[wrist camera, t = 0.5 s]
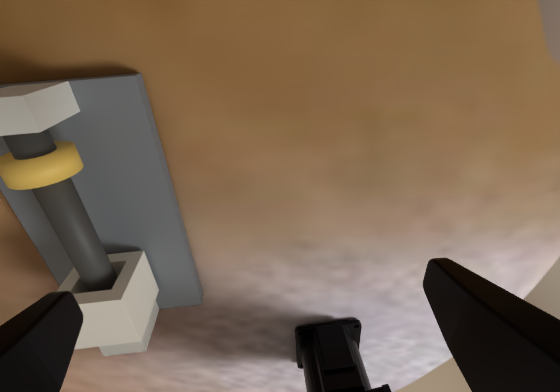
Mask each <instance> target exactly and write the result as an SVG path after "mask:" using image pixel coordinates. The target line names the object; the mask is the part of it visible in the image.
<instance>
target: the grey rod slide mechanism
mask: <svg viewBox="0 0 560 392" xmlns="http://www.w3.org/2000/svg"><path fill="white" fill-rule="evenodd" d="M0 190H1V191H2V193H3V195H4V196H5V198H6V199H7V201H8V203H9V204H10V206H11V208H12V209H13V211H14V212H15V214H16V216H17V217H18V219H19V221H20V222H21V224H22V226H23V227H24V229H25V230H26V232H27V234H28V235H29V237H30V239H31V240H32V242H33V243H34V245H35V247H36V248H37V250H38V252H39V253H40V255H41V256H42V258H43V260H44V261H45V263H46V265H47V266H48V268H49V269H50V271H51V273H52V274H53V276H54V278H55V279H56V281H57V283H58V284H59V286H61V284H62V283H63V282H64V280H65V279H66V277H67V276H68V275H69V273H70V272H71V270H72V269H73V268H74V267H75V269H76V271H77V273H78V274H79V276H80V278H81V280H82V282H83V283H84V285H85V287H86V289H87V291H88V292H94V291H103V290H112V288H113V286H114V284H115V282H116V280H117V278H118V277H117V275H116V273H115V271H114V269H113V267H112V265H111V262H110V260H109V258H108V256H107V254H116V253H126V252H135V251H144V252H145V255H146V257H147V260H148V263H149V265H150V268H151V271H152V273H153V276H154V278H155V281H156V284H157V286H158V289H159V291H158V294H157V297H156V300H155V303H154V306H153V309H152V312H151V315H150V318H149V321H148V324H147V326H146V329H145V332H144V335H143V338H142V341H141V342H133V343H124V344H116V345H108V346H99V349H100V351H101V352H102V354H103V355H104V356H111V355H120V354H128V353H136V352H144V351H146V350H147V347H148V344H149V341H150V338H151V334H152V331H153V328H154V325H155V322H156V319H157V315H158V312H159V309H166V308H175V307H183V306H192V305H201V304H202V300H203V292H202V288H201V285H200V281H199V278H198V274H197V271H196V267H195V263H194V260H193V256H192V253H191V249H190V246H189V242H188V238H187V235H186V231H185V228H184V224H183V221H182V217H181V214H180V210H179V206H178V203H177V199H176V196H175V192H174V189H173V185H172V181H171V178H170V174H169V171H168V167H167V164H166V160H165V156H164V153H163V149H162V146H161V142H160V139H159V135H158V131H157V128H156V124H155V121H154V117H153V114H152V110H151V106H150V103H149V99H148V96H147V92H146V89H145V85H144V81H143V78H142V74H141V73H134V74H122V75H110V76H98V77H85V78H73V79H61V80H49V81H37V82H25V83H12V84H0Z"/></svg>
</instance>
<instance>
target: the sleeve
mask: <svg viewBox="0 0 560 392" xmlns="http://www.w3.org/2000/svg"><path fill="white" fill-rule="evenodd" d="M107 256H108V258H109V260H110V262H111V265H112V267H113V269H114V271H115V273H116V275H117V277H118V278H117V280H116V282H115V284H114V286H113V288H112V290H103V291H94V292H88V291H87V289H86V287H85V285H84V283H83V282H82V280H81V278H80V276H79V274H78V273H77V271H76V269H75V267H74V268H73V269H72V270H71V272H70V273H69V275H68V276H67V277H66V279H65V280H64V282H63V283H62V284H61V286H60V287H59V289H58V290H57V291H56V292H58V291H70V292H71V293H72V294H73V295H74V297H75V299H76V301H77V303H78V305H79V307H80V308H81V310H82V312H83V324H82V327H81V330H80V333H79V336H78V339H77V342H76V345H75V348H74V349H83V348H91V347H99V346H108V345H116V344H124V343H133V342H141V341H142V338H143V335H144V332H145V329H146V326H147V324H148V321H149V318H150V315H151V312H152V309H153V306H154V303H155V300H156V297H157V294H158V291H159V289H158V286H157V284H156V281H155V278H154V276H153V273H152V271H151V268H150V265H149V263H148V260H147V257H146V255H145V252H144V251H135V252H126V253H116V254H107Z"/></svg>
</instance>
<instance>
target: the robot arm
mask: <svg viewBox="0 0 560 392" xmlns="http://www.w3.org/2000/svg"><path fill="white" fill-rule="evenodd" d="M423 289H424V292H425V294H426V297H427V299H428V301H429V304H430V306H431V308H432V311H433V313H434V316H435V318H436V320H437V323H438V325H439V327H440V330H441V332H442V335H443V337H444V339H445V341H446V344H447V346H448V348H449V350H450V352H451V354H452V356H453V358H454V359H455V361H456V363H457V365H458V367H459V369H460V370H461V372H462V374H463V376H464V378H465V380H466V381H467V383H468V385H469V387H470V389H471V391H472V392H560V320H559V319H557V318H555V317H554V316H552V315H550V314H548V313H546V312H544V311H543V310H541V309H539V308H537V307H535V306H534V305H532V304H530V303H528V302H526V301H525V300H523V299H521V298H519V297H517V296H516V295H514V294H512V293H510V292H508V291H506V290H505V289H503V288H501V287H499V286H497V285H496V284H494V283H492V282H490V281H488V280H486V279H485V278H483V277H481V276H479V275H477V274H476V273H474V272H472V271H470V270H468V269H466V268H465V267H463V266H461V265H459V264H457V263H456V262H454V261H452V260H450V259H448V258H434V259H430V260H429V262H428V264H427V268H426V272H425V276H424V280H423ZM82 324H83V312H82V310H81V308H80V307H79V305H78V303H77V301H76V299H75V297H74V295H73V294H72V293H71V292H70V291H58V292H51V293H49V294H47V295H46V296H44V297H43V298H41V299H40V300H38V301H37V302H35V303H34V304H32V305H31V306H29V307H28V308H26V309H25V310H23V311H22V312H20V313H19V314H17V315H16V316H14V317H13V318H11V319H10V320H9V321H7V322H6V323H4V324H3V325H1V326H0V392H60V389H61V387H62V384H63V381H64V378H65V375H66V372H67V369H68V366H69V363H70V360H71V357H72V354H73V351H74V348H75V345H76V342H77V339H78V336H79V333H80V330H81V327H82ZM360 334H361V323H360V321H359V320H348V321H340V322H332V323H323V324H315V325H307V326H299V327H297V328H296V329H295V337H296V353H297V365H298V368H300V369H304V376H305V382H306V389H307V392H391V390H390V388H389V385H388V384H385V385H382V387H378V388H374V389H372V388H371V385H370V382H369V379H368V376H367V373H366V370H365V367H364V364H363V361H362V358H361V355H360V352H359V343H360Z"/></svg>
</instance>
